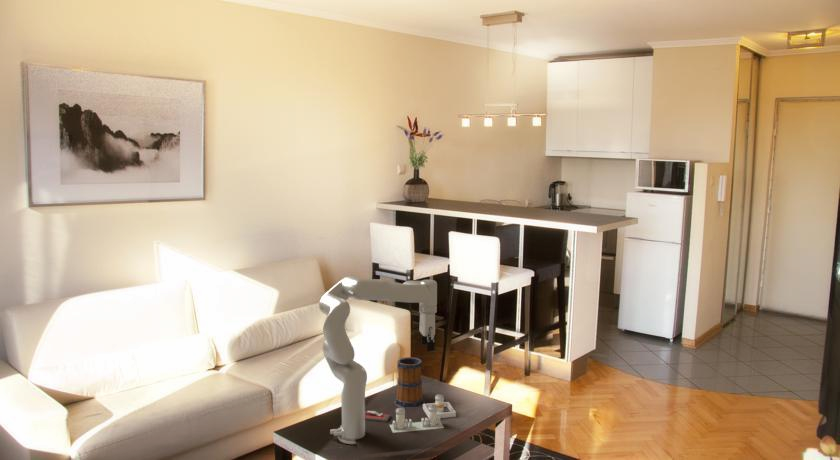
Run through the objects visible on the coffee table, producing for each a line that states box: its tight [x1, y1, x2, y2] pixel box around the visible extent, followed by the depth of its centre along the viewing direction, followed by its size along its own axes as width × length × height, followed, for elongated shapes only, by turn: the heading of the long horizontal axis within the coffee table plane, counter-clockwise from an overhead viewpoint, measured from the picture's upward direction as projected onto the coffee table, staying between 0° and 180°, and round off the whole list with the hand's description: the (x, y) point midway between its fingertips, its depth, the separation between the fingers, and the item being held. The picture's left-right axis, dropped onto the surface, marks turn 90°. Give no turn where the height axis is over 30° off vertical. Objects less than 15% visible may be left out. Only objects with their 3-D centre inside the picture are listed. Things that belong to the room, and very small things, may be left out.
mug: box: [393, 356, 426, 409], centre depth 311 cm, size 19×14×20 cm
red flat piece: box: [365, 410, 391, 423], centre depth 290 cm, size 9×4×20 cm
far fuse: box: [428, 405, 437, 427], centre depth 281 cm, size 4×4×8 cm
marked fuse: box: [434, 394, 445, 413], centre depth 294 cm, size 4×4×8 cm
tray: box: [422, 401, 457, 419], centre depth 295 cm, size 12×12×4 cm
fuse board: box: [389, 417, 445, 434], centre depth 280 cm, size 22×8×4 cm, turn 103°
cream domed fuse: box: [395, 407, 406, 430], centre depth 278 cm, size 4×4×8 cm
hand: (427, 347), depth 287 cm, fingers open, 9 cm apart
